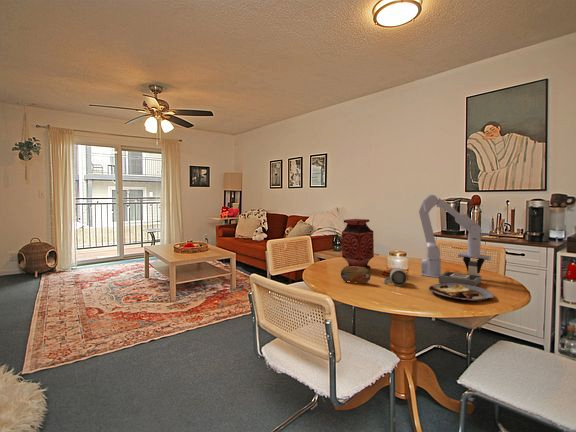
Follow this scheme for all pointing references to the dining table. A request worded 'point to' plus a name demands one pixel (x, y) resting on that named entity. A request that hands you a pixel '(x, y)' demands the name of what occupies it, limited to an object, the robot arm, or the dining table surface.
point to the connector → (472, 268)
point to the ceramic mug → (397, 277)
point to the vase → (357, 243)
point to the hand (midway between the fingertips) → (473, 272)
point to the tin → (355, 274)
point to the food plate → (461, 291)
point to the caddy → (459, 278)
